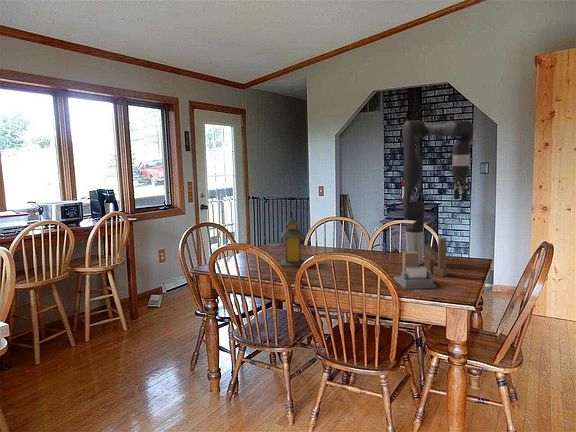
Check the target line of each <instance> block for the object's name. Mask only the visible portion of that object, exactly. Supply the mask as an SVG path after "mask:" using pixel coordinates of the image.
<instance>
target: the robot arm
mask: <svg viewBox="0 0 576 432" xmlns="http://www.w3.org/2000/svg"><path fill="white" fill-rule="evenodd" d="M474 129H475V128H474V125H473V123H472V122H471V121H470V120H446V121H445V120H443V121H435V122H428V121H422V120H419V119H418V120H417V119H416V120H410V119H409V120H406V121H405V122H404V123H403V126H402V141H403V142H402V143H403V201H402V203H403V204H402V215H403V218H404V219H406V220H415V221H414V222H412V223H411V224H408V225H406V227H405V251H416V252H417V253H418V266H419V265H424V245H425V241H424V233H425V232H424V229H425V228H424V227H425V212H426V211H425V204H424V202H423V201H421V200H420V201H419V200H418V201H417V200H416V201H411V198H412V195H413V192H414V191H415V189H416V187H417V186H418V184H419V183H420V182H421V180H422V177H423V163H422V160H421V158H420V156H419V155H418V153H417V151H416V148H415V146H416V145H415V139H421V138H426V137H430V136H435V137H459V140H458V141H456V142H454V143H453V145H452V160H451V163H452V164H451V175H452V176H453V177H452V178H451V190H452V191H453V199H454V200H459V199H460V190H461V199H460V200H461V202H467V201H468V192H470V190H471V189H470V187H471V186H470V184H471V182H470V180H471V179H470V178H469V177H467V176H469V175H470V168H471V167H470V165H471V162H470V161H471V159H470V158H471V157H470V146H471V142H472V138H473V134H474V131H475V130H474Z"/></svg>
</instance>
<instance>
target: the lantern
mask: <svg viewBox="0 0 576 432" xmlns="http://www.w3.org/2000/svg"><path fill="white" fill-rule="evenodd" d="M293 210H294V209H290V219H288V221H287V222H286V223H285V226H286V228H285V229H284V230H283V231H282V232H281V233H280V235H279V238H280V239H281V238H283V239H285V240H284V241H285V259H280V267H281V266H295V267H301V266H300V265H301V264H302V263H303V262H304V261H306V259H305V258H302V257H301V238H305V237H306V234H305V233H304V232H303V231H302V230H301V229H300V228H299V227H298V226H299V222H298V221H297V220H296V219H295V218H294V211H293ZM306 262H307V261H306Z"/></svg>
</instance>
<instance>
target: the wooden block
mask: <svg viewBox="0 0 576 432" xmlns="http://www.w3.org/2000/svg"><path fill="white" fill-rule="evenodd" d="M437 250H438V251H437V252H436V251H435V250H434V248H433V247H432V246H431V244H430V243H426V244H425V243H424V256H423V266H424V267H426V268H427V270H428V271H430V272H431V273H432V275H436V276H439V277H446V276H448V271H449V270H448V268H447V238H446V237H438V238H437ZM436 261H437V265H435V262H436Z"/></svg>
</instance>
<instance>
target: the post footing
mask: <svg viewBox="0 0 576 432" xmlns="http://www.w3.org/2000/svg"><path fill="white" fill-rule="evenodd" d="M401 254H402V256H401V257H402V259H401V260H402V262H401V263H402V270H401V271H400V272H401V275H399V276H393V280H395V282H396V283H397V284H398V283H399V284H400V285H401V286H402V287H403V288H404V289H403V288H402V287H401V286H400V285H399V284H398V285H399V286H400V287H401V288H402V289H403V290H411V289H412V290H415V289H416V290H417V289H436V288H437V285H436V284H435V283H434V278H433V276H432V275H433V273H431V272H430V271H428V270H427V279H407V273H406V267H419V265H418V253H417V252H416V251H406V250H405V251H402V253H401Z"/></svg>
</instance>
